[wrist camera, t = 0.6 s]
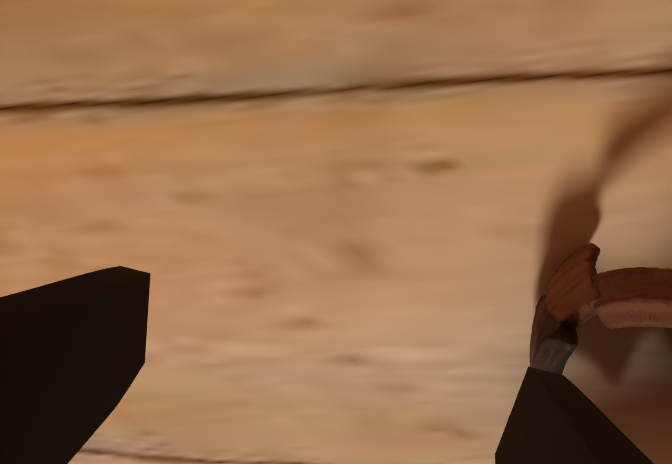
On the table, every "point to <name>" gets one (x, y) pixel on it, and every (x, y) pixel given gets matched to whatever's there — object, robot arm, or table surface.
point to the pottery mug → (595, 305)
